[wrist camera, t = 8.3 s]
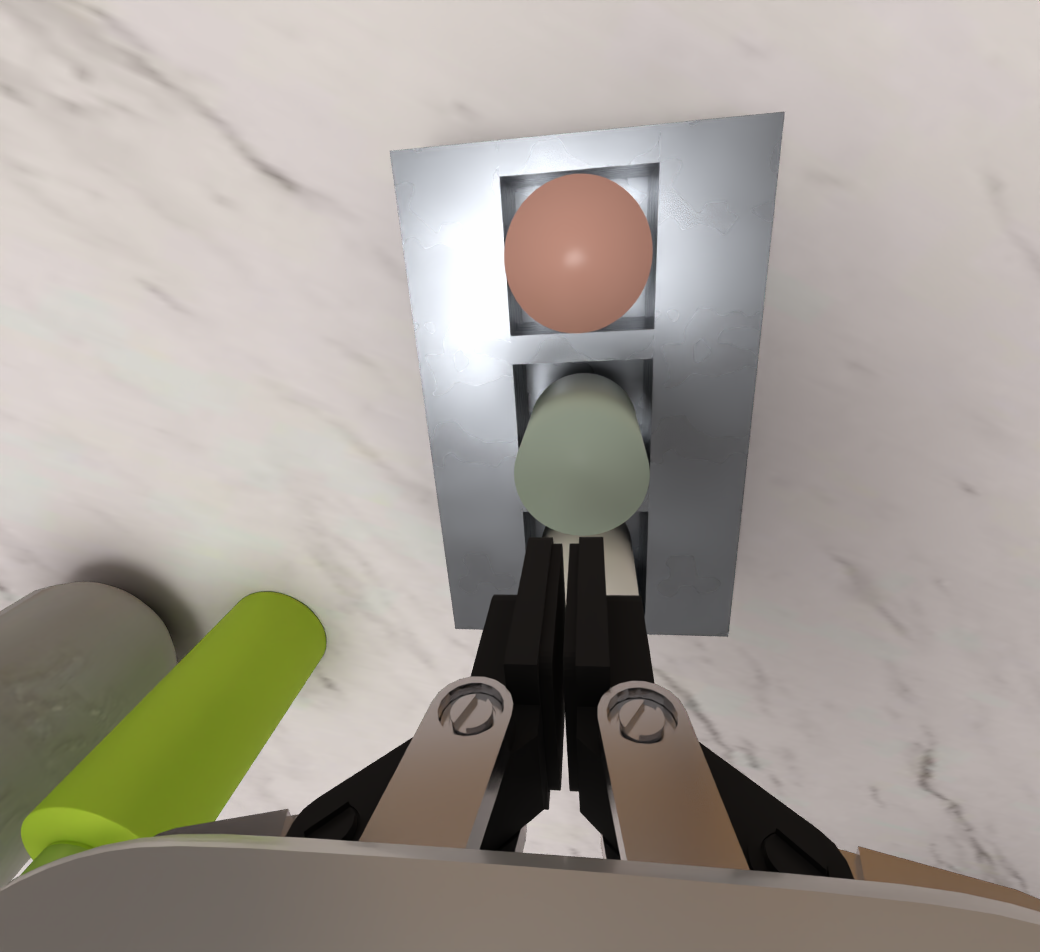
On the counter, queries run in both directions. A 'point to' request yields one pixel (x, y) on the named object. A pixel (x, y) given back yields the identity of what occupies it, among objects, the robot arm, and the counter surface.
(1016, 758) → the counter surface
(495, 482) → the gray socket block
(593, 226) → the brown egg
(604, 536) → the cream rounded cylinder
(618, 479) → the green piece
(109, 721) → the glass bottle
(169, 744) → the soap dispenser
